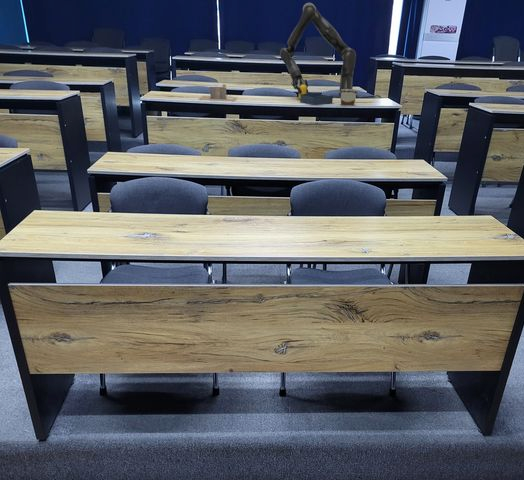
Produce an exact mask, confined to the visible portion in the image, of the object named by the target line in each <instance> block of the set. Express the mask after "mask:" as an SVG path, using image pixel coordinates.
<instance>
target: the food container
mask: <svg viewBox="0 0 524 480" xmlns="http://www.w3.org/2000/svg"><path fill="white" fill-rule="evenodd" d="M340 93H341V98H340V106H346V107H347V106H348V107H354V106H355V102H356V99H357V97H356V94H357V95H358V90H357V89H353V88H352V89H341V91H340Z"/></svg>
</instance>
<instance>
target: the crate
mask: <svg viewBox="0 0 524 480" xmlns="http://www.w3.org/2000/svg"><path fill="white" fill-rule="evenodd" d="M300 95H301V97H300V99H299V100H300V101H299V102H300V103H303V104H307V105H311V106H319V105H320V106H321V105H329V104H330V105H331V104H333V101H334V95H327V94H323V93H320V92H312V93H306V94H300Z"/></svg>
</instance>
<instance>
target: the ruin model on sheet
mask: <svg viewBox="0 0 524 480" xmlns="http://www.w3.org/2000/svg"><path fill="white" fill-rule="evenodd" d="M209 89H210V93H209V94H210V96H206V95H205V96H204V95H203V96H202V97H201V98H200V99H199V101H219V102H234V101H236V99H237V97H232V98H233V99H228V98H227V86H226V84H222V86H210V87H209Z"/></svg>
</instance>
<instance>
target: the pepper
mask: <svg viewBox="0 0 524 480" xmlns="http://www.w3.org/2000/svg"><path fill="white" fill-rule="evenodd" d="M300 89H301V91H302V93H301V94H307V93H306V90H307V89H308V87H306V85H304V83H303V84H302V85H300ZM300 97H301V95H300V94H299V93H298V100H300Z"/></svg>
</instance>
